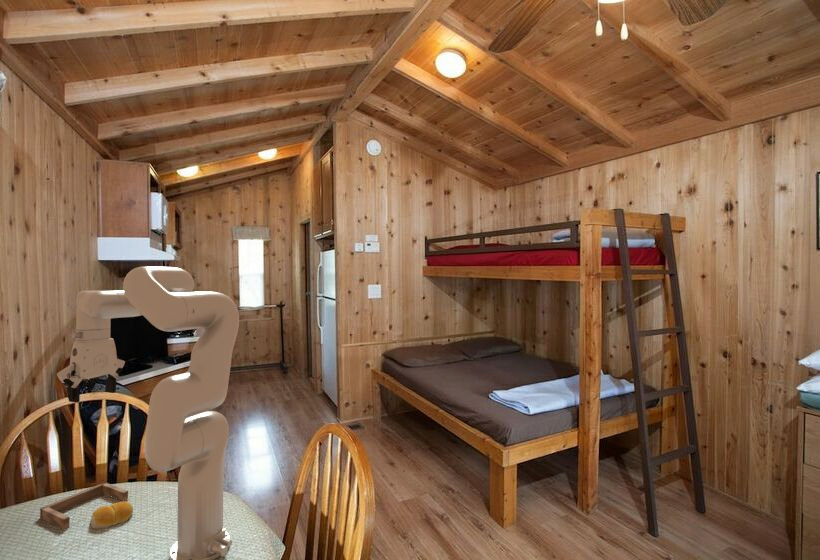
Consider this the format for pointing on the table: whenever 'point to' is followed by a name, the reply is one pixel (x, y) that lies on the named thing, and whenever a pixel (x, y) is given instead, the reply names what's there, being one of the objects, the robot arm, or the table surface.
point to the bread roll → (111, 515)
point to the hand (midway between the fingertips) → (93, 396)
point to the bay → (61, 520)
